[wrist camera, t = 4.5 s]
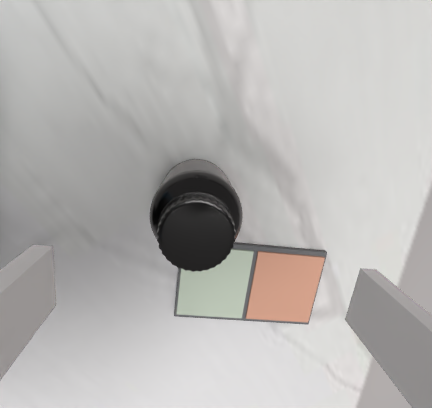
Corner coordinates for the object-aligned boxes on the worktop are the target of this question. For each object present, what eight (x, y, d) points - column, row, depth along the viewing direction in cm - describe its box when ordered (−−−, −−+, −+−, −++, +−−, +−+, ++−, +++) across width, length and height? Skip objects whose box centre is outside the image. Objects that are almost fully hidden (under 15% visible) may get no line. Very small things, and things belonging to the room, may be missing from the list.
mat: (174, 313, 32) (173, 318, 31) (181, 237, 29) (181, 240, 29) (306, 321, 34) (309, 326, 33) (325, 250, 31) (328, 254, 30)
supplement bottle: (240, 206, 29) (269, 263, 17) (181, 233, 29) (171, 304, 18) (213, 145, 27) (225, 163, 15) (150, 174, 27) (116, 213, 16)
